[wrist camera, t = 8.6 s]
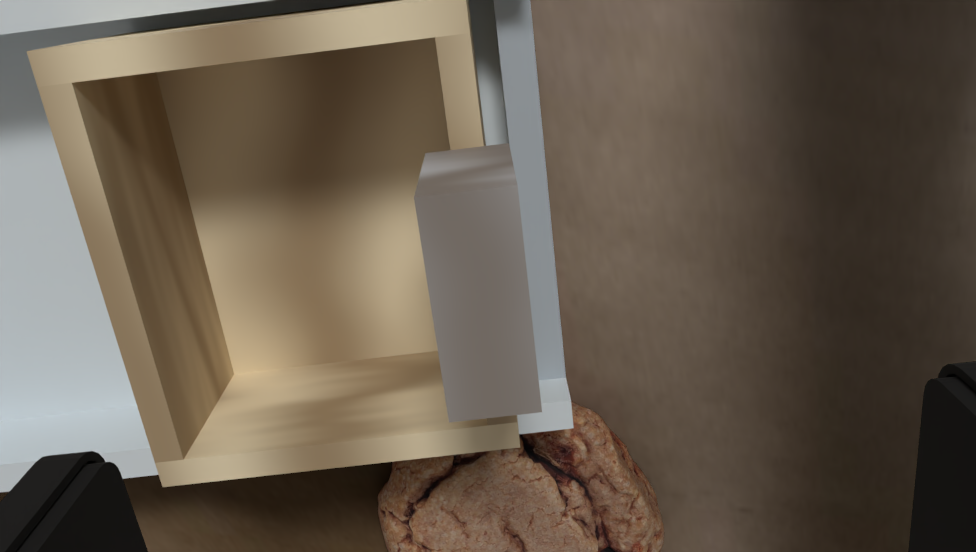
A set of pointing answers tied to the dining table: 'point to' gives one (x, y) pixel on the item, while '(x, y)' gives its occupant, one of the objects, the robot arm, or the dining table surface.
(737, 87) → the dining table surface
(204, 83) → the drawer
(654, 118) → the dining table surface
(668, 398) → the dining table surface
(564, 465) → the cookie
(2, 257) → the bay
